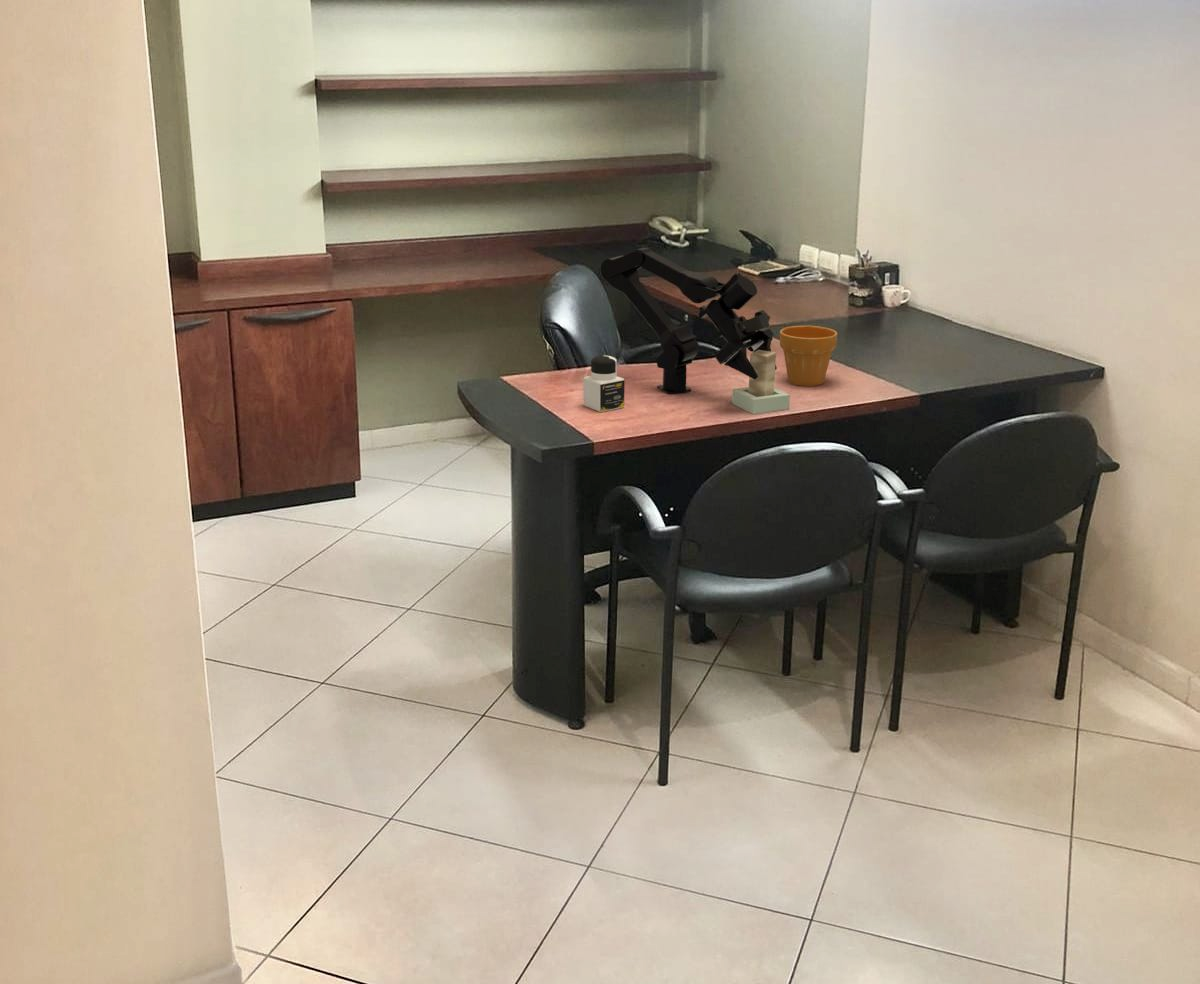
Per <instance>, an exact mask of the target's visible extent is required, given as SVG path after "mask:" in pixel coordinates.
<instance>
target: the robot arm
mask: <svg viewBox="0 0 1200 984" xmlns="http://www.w3.org/2000/svg"><path fill="white" fill-rule="evenodd" d="M641 268H642V269H644V270H646V271H648V272H650V273H651V274H653V275H656V276H657V277H659V278H661V279H663V280H665V281H667V283H670V284H672V285H674V286H675V287H677V288H678V289H679V290H680V292H681V293H682V295H683V296H684V297H686V298H687V299H688V300H689V301H690V302H692V303H694V304H701V303H705V302H708V304H706V305H701V306H700V307H699V312H698V320H699V319H700V320H701V319H704V318H707V317H708V319H710V322H711V323H712V324H713V325H714V327H715V328H716V329H717V330H718V332H717V333H716V336H717V337H718V338H724V340H725V341H726V343H725V344H724V345H723V346H722V347H721V348H720V349H718V350H717V351H716V352H715V359H716V361H717V362H718V363H719V365H723V364H724V366H726V367H728V368H732V369H733V370H735V371H737V372H740V373H741V374H743V375H745V376H747V377H748V378H749V377H751V378H753V379H757V378H758V375H757V373H756V371H755V370H754V368H753V366H752V365H751V363H750V359H749V358H748V357H747V355H748V354H747V353H748V352H747V351H750V352H751V353H753V352H755V351H758V350H763V351H770V352H772V349H771V345H772V341H773V339H774V338H773V337H774V335H775V334H774V333H773V331H772V330H771V328H768V327H770V319H771V316H770V315H768V313H767V312H766V311H765V310H764V309H761V310H759V311H757V312H755V313H754V317H752V318H751V317H750V318H748V319H747V318H746V317H745V316H743V315H741V316H739V315H738V314H737V312H736V311H735V310H738V311H739V310H741V309H743V307H744V306H745V305H747V303H749V302H750V301H751V300H752V299H753V298H754V297H755V296H756V295H757V293H758V289H757V286H756V285H755V283H754V281H752V280H750V279H749V278H748V277H746V276H743V275H742V273H740V272H737V273H734V274H733V275H732V276H731V278H730V279H729V280H728V281H727V282H726V283H724V282H721V281H718V279H717V278H715V276H712V275H709V274H705V273H703V272H697V271H692V270H689V269H686V268H684V267H682V265H681V266H680V265H679V264H677V263H675V262H674V261H671V260H669V259H668V258H666V257H664V256H662V255H660V254H658V253H656V252H654V251H653V250H652V249H651V248H650V247H643V248H642V247H641V248H638V249H635V250H633V251H632V252H630V253H628V254H625V255H619V256H615V257H610V258H606V259H605V260H603V261H602V263H601V266H600V271H599V273H600V276H601V278H602V279H603V280H604V281H605V282H606V283H607V284H608V285H609V286H611V287H612V288H613V289H616V291H619V292H621V293H623V294H624V295H625V297H626V298H627V299H628V300H629V301H630V302H631V304H632V305H633V307H634V308H635V309H636V311H638V312H639V314H640V315H641V317H642V318H643V319H644V321H646V323H647V324H648V325H649V327H651V328H652V329H651V330H653V331H654V333H656V335H657V336H658V338H659V343H660V349H661V350H662V353H661V354H660V355H659V356H658V357H657V358H655V363H656V367H657V368H658V369H662V385H661V384H660V385H657V389H659V390H661V391H662V392H665V393H666V394H669V395H670V394H677V393H678V394H679V393H684V392H685V393H686V392H692V388H690V387H688V386H687V366H688V365H689V364H690V365H691V364H692V363H693V361H694V358H696V356H697V355H698V352H699V346H700V345H699V343H698V340H697V339H696V338H697V337H698V336H696V335H695V334H693V333H692V330H691V329H690V327H689V326H687V324H685V325H682V326H678V325H676V324H675V323H674V322H673V321H672V319H671V318H670V317H669V316H668V314H667V313H666V312H665V310H663V308H662V306H660V304H658V302H657V301H656V300H655V299H654V297H653V296H652V295H651V294H650V292H649V291H648V290H647V289H646V288H645V286H644V284H643V283H641V281H640V275H639V272H638V269H641ZM719 296H720V297H719ZM717 297H719V298H717ZM716 298H717V299H716ZM709 301H710V302H709ZM777 369H778V367H777V365H776V363H775V371H776V370H777Z"/></svg>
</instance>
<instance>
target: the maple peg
mask: <svg viewBox="0 0 1200 984" xmlns="http://www.w3.org/2000/svg"><path fill="white" fill-rule="evenodd" d="M776 358H777V352H776V351H771V352H770V351H763V350H758V351H755V352H754V351H753V353H752V352H751V353H750V355H749V361H750V363H751V365H752V366H753V368H754V370H755V371H756V373H757V375H758V378H757V379H753V378H751V377H749V376H748V378H749V379H748V387H749V394H751V395H753V396H755V397H761V396H768V395H774V388H775V378H776V377H775V376H776V370H775V364H776Z"/></svg>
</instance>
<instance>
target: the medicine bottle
mask: <svg viewBox="0 0 1200 984" xmlns="http://www.w3.org/2000/svg"><path fill="white" fill-rule="evenodd" d="M590 367H591V368H590V375H587V376H583V381H582V382H583V384H582V385H583V393H582V395H583V399H582V400H583V402H582V403H583V406H584V407H587V408H588V409H591V410H594V411H596V412H599V413H603V412H610V411H615V410H619V409H622V408H625V378H623V377H621V376H619V375H618V372H617V371H618V360H617V358H616V357H614V356H610V355H597V356H595V357H593V358H592V359H591V360H590ZM617 375H618V376H617Z"/></svg>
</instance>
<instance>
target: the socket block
mask: <svg viewBox="0 0 1200 984" xmlns="http://www.w3.org/2000/svg"><path fill="white" fill-rule="evenodd" d="M731 392H732V395H731V397H732V398H731V404H733V405H735V406H737V407H738V408H740V409H742V410H744V411H746V412H748V413H750V414H752V415H759V414H765V413H771V412H772V413H773V412H778V411H787V410H790V401H791V394H789V393H786V392H785V391H782V390H780V389H778V388H776V387H774V395H768V396H761V397H755V396H753V395H751V394H749V386H747V387H739V388H733V389H732V391H731Z"/></svg>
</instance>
